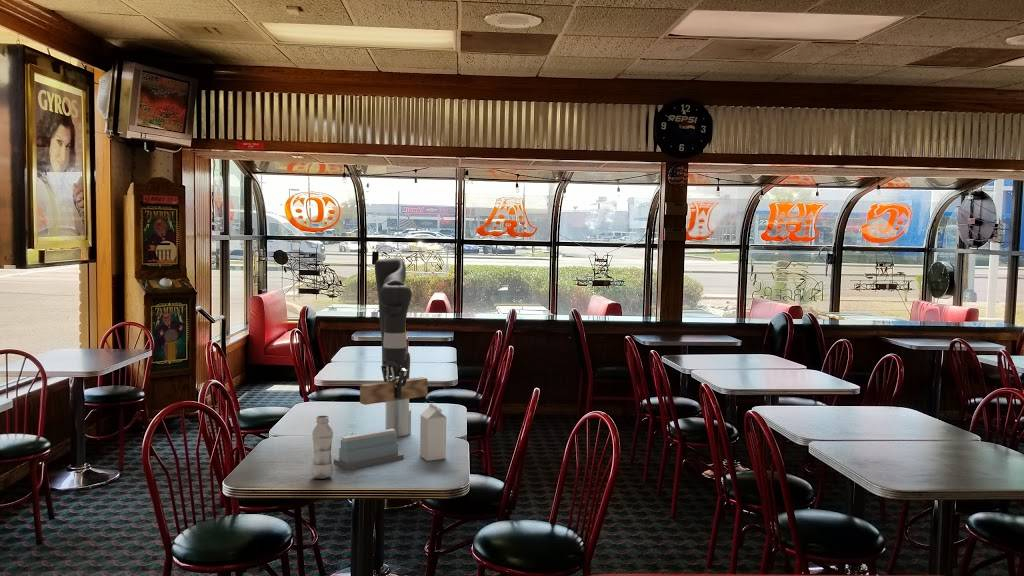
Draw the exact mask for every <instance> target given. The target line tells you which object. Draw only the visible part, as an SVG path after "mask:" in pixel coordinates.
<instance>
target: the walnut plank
mask: <svg viewBox="0 0 1024 576" xmlns="http://www.w3.org/2000/svg"><path fill="white" fill-rule="evenodd" d="M402 382H403V380H402ZM397 383H398V380H397ZM394 388H395V387H394V381H387V382H384V381H380V382H373V383H372V382H370V383H364V384H363V383H362V384H359V404H362V405H365V406H367V405H373V404H381V403H386V402H389V401H396V400H403V399H409V400H410V399H415V398H416V399H417V398H422V397H428V378H427V377H422V376H420V377H412V378H409V379H407V381H406V385H405V386H402V387H401V398H399V399H395V398H394Z"/></svg>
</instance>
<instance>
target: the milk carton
mask: <svg viewBox="0 0 1024 576" xmlns="http://www.w3.org/2000/svg"><path fill="white" fill-rule="evenodd" d="M419 428H420V432H419V433H420V434H419V436H420V437H419V438H420V441H419V442H420V443H419V445H420V447H419V448H420V449H419V451H420V452H419V456H420V457H421V458H422V459H424V460H426V462H429V461H436V460H437V461H438V460H446V458H447V416H446V415H445V414H443V409H442V408H440V407H438V406H437V405H435V404H433V403H431V402H429V406H428V407H427V408H426V409H425V410H424V411H423V412H422V413H421V414H420V427H419Z"/></svg>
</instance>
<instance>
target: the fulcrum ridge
mask: <svg viewBox="0 0 1024 576" xmlns="http://www.w3.org/2000/svg"><path fill="white" fill-rule="evenodd" d="M338 451H339V453H338V457H337V458H335V457H334V458H333V464H335V465H337V466H338V467H341V468H343V469H345V470H347V469H348V470H349V469H350V470H353V468H355V469H359V467H360V468H364V466H365V467H369V466H370V467H371V466H374V465H379V464H380V465H381V464H384V463H389V462H394V461H400V460H404V459H405V454H403V453H401V452H399V442H398V437H397V434H396V430H394V429H387V430H385V429H383V430H382V429H381V430H376V431H372V432H371V431H370V432H363V433H358V434H352V435H347V436H341V439H340V447H339V450H338ZM350 470H349V471H350Z"/></svg>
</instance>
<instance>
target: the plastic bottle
mask: <svg viewBox="0 0 1024 576" xmlns="http://www.w3.org/2000/svg"><path fill="white" fill-rule="evenodd" d="M315 423H316V425H315V427H314V428H313V430H312V432H311V434H312V435H311V436H312V443H313V458H312V465H311V475H312V477H313V478H314V479H316V480H317V479H318V480H319V479H320V480H321V479H322V480H323V479H328V478H330V477H331V476H332V475H333V470H334V469H333V463H332V444H333V436H334V431H333V429H332V427H331V426H330V425H329V423H330V421H329V416H328V415H317V416H316V422H315Z"/></svg>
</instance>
